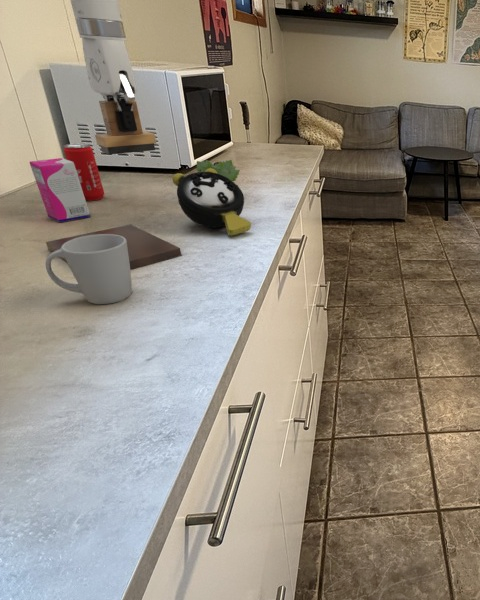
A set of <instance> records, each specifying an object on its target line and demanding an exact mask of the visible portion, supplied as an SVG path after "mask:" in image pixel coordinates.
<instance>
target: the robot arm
mask: <svg viewBox="0 0 480 600" xmlns="http://www.w3.org/2000/svg"><path fill="white" fill-rule="evenodd" d="M70 4H71V8H72V12H73V15H74V20H75V24H76V27H77V31H78V34H79V38H80V39H81V42H82V51H83V59H84V64H85V67H86V68H85V69H86V72H87V77H88V81H89V86H90V89H91V90H92V91H94V92H96V93H98V94H100V95H101V96H102V98H103V99H104V101H115V105H116V109H117V111H115V113H116V117H117V122H118V126H119V130H120V131H121V132H132V131H137V126H136V122H135V117H134V113H133V111H134V109H133V105H132V103H133V102H134V101H136V97H135V94H136V93H137V85H136V80H135V76H134V70H133V67H132V63H131V59H130V56H129V53H128V49H127V46H126V44H125V42H126V41H127V38H126V37H127V36H126V32H125V27H124V23H123V18H122V14H121V10H120V4H119V0H70Z"/></svg>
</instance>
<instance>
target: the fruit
mask: <svg viewBox="0 0 480 600" xmlns="http://www.w3.org/2000/svg"><path fill="white" fill-rule="evenodd" d="M195 168H196V171H197V172H205V171H206V169H209V168H212V169H214V170H216V172H217V174H220V175H222V176H225V177H227V178H228V179H230V180H231V181H232V182H236V181H237V178H238V176H239V174H240V170H241V169H236V168H237V166H236V165H235V166H234V164H233V160H232V159H229V160H227V159H226V160H225V161H224V160H223V161H216V162H214V163H212V162H211V161H210V160H208V159H205V160H202V161H199V160H197V161H196V167H195ZM197 172H196V173H197ZM236 185H237V186H238V187H239V185H238V184H236Z"/></svg>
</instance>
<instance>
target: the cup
mask: <svg viewBox="0 0 480 600" xmlns="http://www.w3.org/2000/svg"><path fill="white" fill-rule="evenodd" d="M61 257H63V258H66V260H67V261H66V263H67V265H68V267H69V269H70V271H71V273H72V275H73V278H74V279H75V281H76V282H77V283H71V282H67V281H64V280H62V279H60V277H58V276H57V275H56V274H55V272H54V271H53V269H52V261H53V260H54V259H55V258H56V259H57V258H61ZM45 269H46V273H47V275H48V276H49V278H50V280H51V281H53V283H55V284H56V285H57V286H59V287H60V288H62V289H65V290H66V291H69V292H73V293H77V294H82V295H84V297H85V300H86V301H87V302H89V303H91V304H94V305H109V304H115V303H119V302H121V301H124V300H125V299H128V297H130V296H131V295H132V294H133V287H132V275H131V273H132V272H131V269H130V263H129V256H128V249H127V241H126V239H125V238H124V237H123V236H120V235H114V234H97V235H89V236H83V237H79V238H75V239H72V240H70V241H68V242H66V243H64V244H63V245H62V247H61V249H59V250H57V251H55V252H51V253H49V255H48V256H47V257H46V260H45Z"/></svg>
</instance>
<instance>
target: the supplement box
mask: <svg viewBox="0 0 480 600" xmlns="http://www.w3.org/2000/svg"><path fill="white" fill-rule="evenodd" d="M29 165H30V168H31V171H32V174H33V177H34V180H35V182H36V186H37V189H38V191H39V193H40V194H39V195H40V197H41V199H42V202H43V205H44V208H45V211H46V215H47V216H48V217H49V218H51V219H52V220H54V221H56V222H57V223H65V222H66V223H67V222H70V221H75V220H81V219H87V218H90V217H91V213H90V209H89V207H88V204H87V201H86V200H85V197H84V194H83V191H82V188H81V184H80V181H79V178H78V175H77V172H76V168H75V165H74V162H72V161H69V160H66V158H63V157H60V158H49V159H41V160H40V159H39V160H30V161H29Z"/></svg>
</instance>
